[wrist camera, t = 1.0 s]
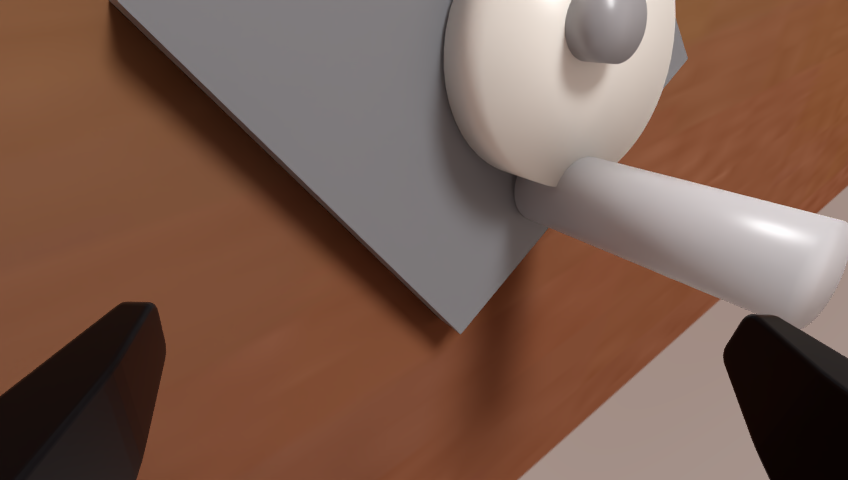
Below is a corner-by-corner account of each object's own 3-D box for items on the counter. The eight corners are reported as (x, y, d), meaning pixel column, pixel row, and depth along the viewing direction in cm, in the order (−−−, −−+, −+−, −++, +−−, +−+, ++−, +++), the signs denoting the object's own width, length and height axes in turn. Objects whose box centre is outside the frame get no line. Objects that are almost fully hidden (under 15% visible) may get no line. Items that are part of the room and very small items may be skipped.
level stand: (439, 318, 24) (522, 381, 20) (108, 0, 14) (138, -6, 10) (658, 56, 26) (773, 64, 22) (509, -374, 16) (666, -504, 12)
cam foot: (429, -226, 15) (875, -499, 7) (648, -194, 19) (1075, -340, 11) (452, 250, 20) (707, 394, 13) (616, 192, 25) (881, 274, 17)
